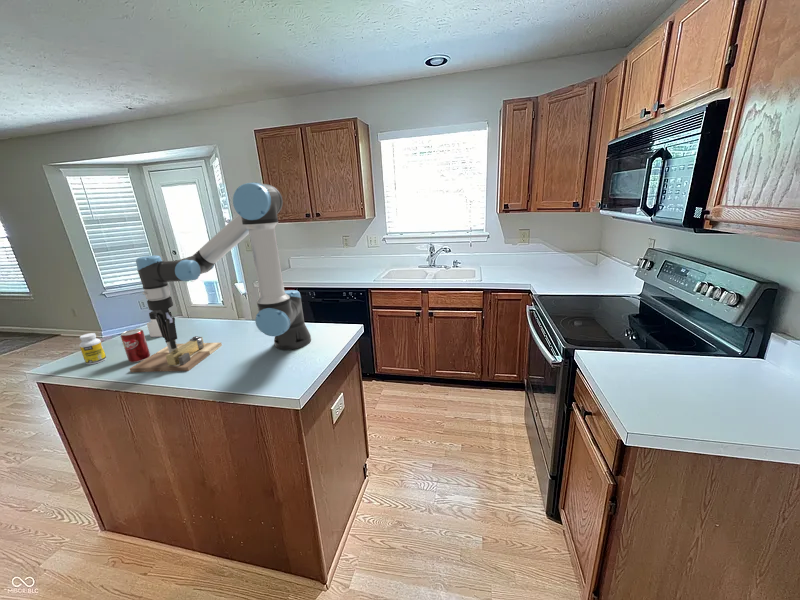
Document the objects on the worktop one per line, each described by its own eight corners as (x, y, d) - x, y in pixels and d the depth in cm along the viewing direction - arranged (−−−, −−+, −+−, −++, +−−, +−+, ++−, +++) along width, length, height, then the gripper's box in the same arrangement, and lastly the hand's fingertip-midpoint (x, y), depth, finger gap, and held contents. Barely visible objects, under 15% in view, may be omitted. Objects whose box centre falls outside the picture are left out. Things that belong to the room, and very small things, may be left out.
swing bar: (196, 345, 141) (193, 335, 140) (206, 345, 141) (203, 334, 140) (166, 365, 125) (163, 353, 124) (177, 364, 125) (174, 353, 123)
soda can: (139, 363, 132) (130, 335, 129) (124, 362, 134) (115, 335, 130) (155, 355, 139) (147, 328, 135) (141, 354, 140) (132, 328, 137)
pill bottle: (83, 366, 132) (73, 339, 129) (89, 360, 138) (79, 334, 134) (104, 362, 135) (95, 336, 132) (108, 356, 141) (100, 330, 137)
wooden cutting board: (221, 345, 145) (219, 336, 144) (188, 370, 124) (185, 359, 123) (171, 347, 146) (169, 337, 145) (130, 372, 125) (127, 361, 124)
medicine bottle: (164, 336, 159) (158, 313, 156) (150, 337, 159) (143, 313, 156) (174, 330, 166) (168, 308, 163) (160, 331, 166) (154, 308, 163)
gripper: (140, 298, 124) (157, 355, 131) (153, 303, 116) (171, 363, 123) (163, 293, 129) (178, 348, 137) (177, 297, 122) (192, 355, 129)
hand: (174, 355), depth 130 cm, fingers closed
